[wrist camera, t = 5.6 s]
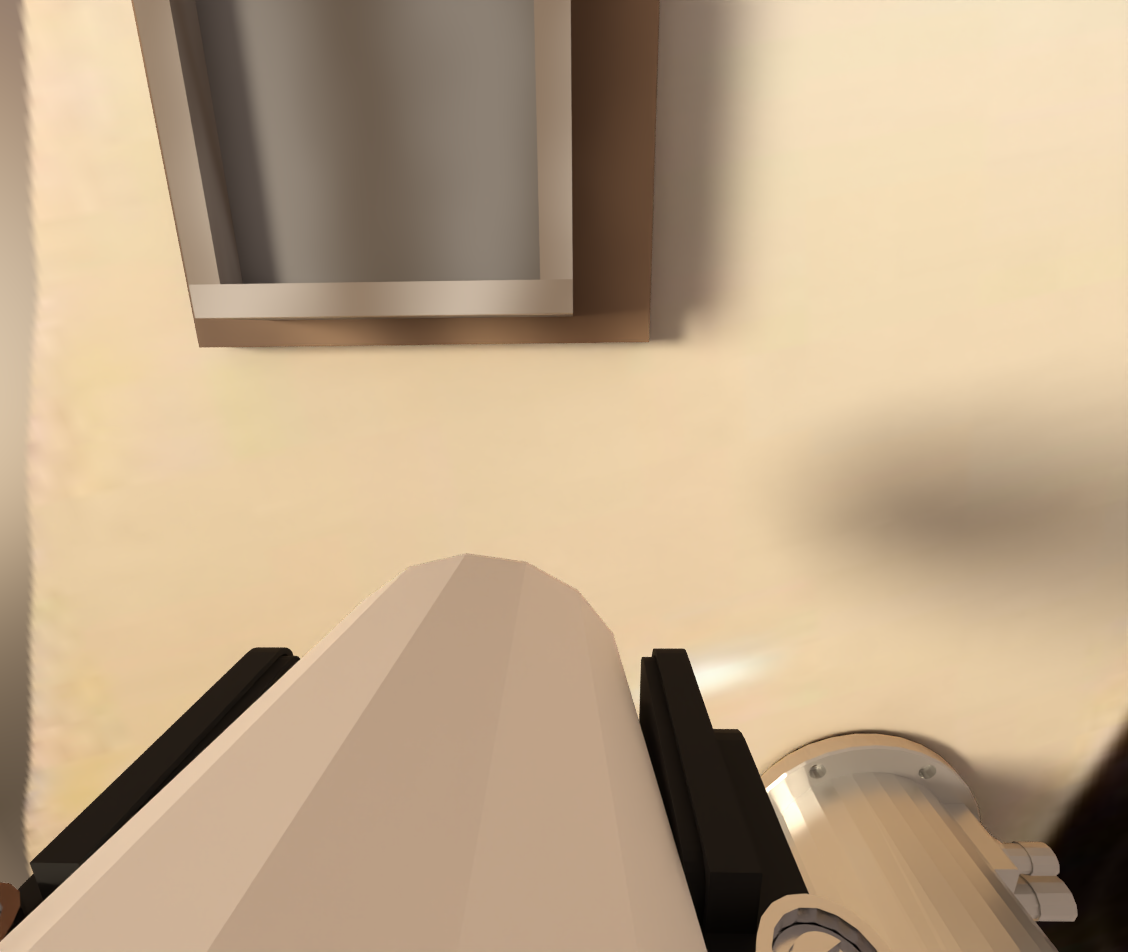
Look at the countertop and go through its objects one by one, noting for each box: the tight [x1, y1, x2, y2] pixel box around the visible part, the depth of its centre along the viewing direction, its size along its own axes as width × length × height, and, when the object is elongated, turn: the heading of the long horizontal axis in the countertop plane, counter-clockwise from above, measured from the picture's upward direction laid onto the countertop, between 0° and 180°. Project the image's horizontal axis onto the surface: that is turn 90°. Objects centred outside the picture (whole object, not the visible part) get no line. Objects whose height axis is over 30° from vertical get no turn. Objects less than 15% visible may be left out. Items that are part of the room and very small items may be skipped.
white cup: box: [0, 553, 707, 952], centre depth 7 cm, size 7×7×7 cm
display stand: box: [132, 0, 660, 347], centre depth 18 cm, size 18×14×6 cm
